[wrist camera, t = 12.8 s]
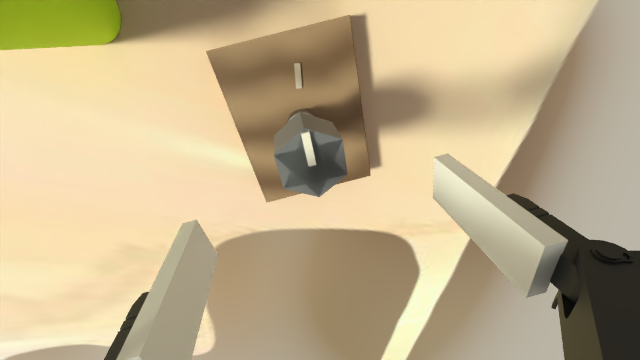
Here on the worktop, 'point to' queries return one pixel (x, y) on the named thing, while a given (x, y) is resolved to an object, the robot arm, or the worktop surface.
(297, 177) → the knob
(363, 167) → the wooden board with bolt
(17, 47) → the soap dispenser
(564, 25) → the worktop surface
